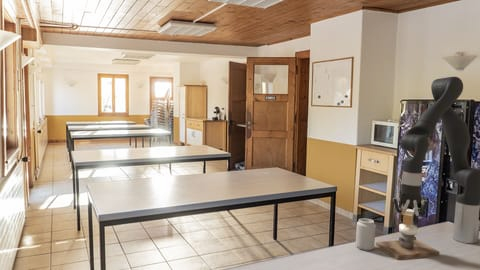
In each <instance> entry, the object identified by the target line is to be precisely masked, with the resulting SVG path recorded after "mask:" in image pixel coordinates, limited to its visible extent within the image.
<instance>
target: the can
mask: <svg viewBox="0 0 480 270" xmlns="http://www.w3.org/2000/svg"><path fill="white" fill-rule="evenodd" d="M376 227H377V225H376V224H375V221H374V219H371V218H367V217H362V218H359V219H358V221H357V222H356V232H355V246H356V247H357V249H358V250H361V249H362V250H361V251H372V250H373V249H374V248H375V244H376V242H375V240H376Z"/></svg>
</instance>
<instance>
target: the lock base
mask: <svg viewBox="0 0 480 270" xmlns="http://www.w3.org/2000/svg"><path fill="white" fill-rule="evenodd" d="M375 246H376V247H377V248H379V249H380V250H382V251H384V252H385V253H386V254H387V255H389V256H391V257H393V258H394V259H396V260H403V259H414V258H426V257H434V256H440V251H439V250H437V249H435V248H434V247H431V246H429V245H428V244H425V243H424V242H422V241H420V240H418V239H417V236H416V235H406V234H402V233H400V237H399V236H398V240H388V241H385V240H384V241H376V242H375Z"/></svg>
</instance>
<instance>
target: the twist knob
mask: <svg viewBox="0 0 480 270" xmlns="http://www.w3.org/2000/svg"><path fill="white" fill-rule="evenodd" d="M414 214H415V213H414V209H411V208H407V209H406V211H405V213H404V215H403V223H399V226H398V232H399V233H400V234H401V233H402V234H406V235H414V236H416V235H418V229H419V228H418V225H416V224H414V223H413V218H414Z"/></svg>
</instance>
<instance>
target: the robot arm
mask: <svg viewBox="0 0 480 270" xmlns="http://www.w3.org/2000/svg"><path fill="white" fill-rule="evenodd" d="M463 90H464V83H463V80H462V79H461V78H460V77H458V76H448V77H447V76H446V77H441V78H437V79H434V80H433V81H432V83H431V95H432V97H433V100H434V103H433V104H431V105H429V106H428V107H427V109H425V110H424V111H423V112H422V113H421V115H420V116H419V118H418V119H417V121H416V123H415V124H414V125H413V126H411V127H410V128H409V129H408V130H407V131H406V132H405V133H404V134H403V135H402V137H401V139H400V146H401V148H402V149H403V150H404V151H408V152H413V153H414V155H413V156H408V157H405V158H404V160H403V168H402V169H403V170H402V176H401V185H400V186H401V187H400V194H399V196H398V197H392V202H393V206H394V208H395V211H396V213H398V214H399V215H400V216H399V221H400V222H401V224H403V215H404V213H405V212H406V210H407V209H408V208H412V210H414V213H415V214H414V218H413V223H412V224H413V225H417V224H418V222H419V216H420V215H421V216H423V215H424V214H425V212H426V209H427V207H428V205H429V201H428V200H427V199H423V198H422V188H423V187H422V186H423V163H424V160H425V157H426V155H427V152H428V150H429V147H430V142H429V139H428V137H427V136H429V135H431V134H432V133H433V131H434V130H435V128H436V126H437V125H438V123H439V121H440V120H441V124H442V129H443V131H444V133H443V134H444V137H445V140H446V143H447V146H448V150H449V151H448V152H449V155H450V159H451V164H452V165H451V166H452V172H453V178H454V180H455V181H454V182H456V184H457V185H459V186H461V187H464V190H463V193H460V194H457V195H456V197H455V198H456V199H455V210H454V212H455V213H454V222H453V223H454V224H453V230H452V231H453V232H452V239H454V240H455V241H457V242H461V243H465V244H476V243H478V242H479V236H480V220H479V217H480V169H477V168H476V167H475V168H473V167H471V166H470V164H469V161H468V150H469V148H470V143H471V135H470V132H469V127H468V125H467V123H466V121H465V119H463V118H462V117H461V116H460V115H459V114H458V113H457V112H456V111H455V109H454V108H453V106H452V105H453V104H454V103H455V102H456V101H457V100H458V98H459V97H460V96H461V95H462V94H463ZM400 202H401V203H402V204H401V208H400V206H399V203H400ZM420 203H421V206H420V208H418V205H420Z"/></svg>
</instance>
